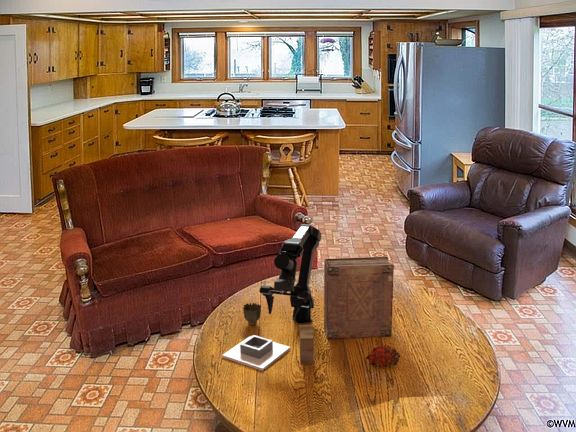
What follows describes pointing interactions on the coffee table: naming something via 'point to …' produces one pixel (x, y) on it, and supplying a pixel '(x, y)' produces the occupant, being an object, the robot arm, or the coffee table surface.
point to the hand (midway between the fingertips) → (281, 315)
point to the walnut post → (306, 344)
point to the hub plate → (256, 352)
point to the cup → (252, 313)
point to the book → (358, 297)
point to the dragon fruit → (383, 356)
